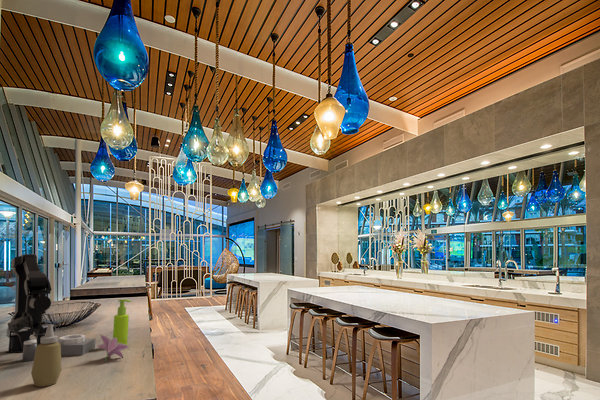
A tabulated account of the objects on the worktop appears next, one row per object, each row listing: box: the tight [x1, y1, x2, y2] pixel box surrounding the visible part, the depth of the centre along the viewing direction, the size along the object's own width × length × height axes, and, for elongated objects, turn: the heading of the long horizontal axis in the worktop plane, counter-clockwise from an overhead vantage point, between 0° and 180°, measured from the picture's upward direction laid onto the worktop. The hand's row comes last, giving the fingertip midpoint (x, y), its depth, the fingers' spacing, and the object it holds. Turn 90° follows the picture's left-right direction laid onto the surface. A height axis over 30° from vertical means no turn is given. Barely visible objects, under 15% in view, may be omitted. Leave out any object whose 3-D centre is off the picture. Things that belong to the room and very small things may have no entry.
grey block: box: [21, 339, 37, 363], centre depth 151 cm, size 5×5×7 cm
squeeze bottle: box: [30, 325, 62, 387], centre depth 125 cm, size 8×8×18 cm
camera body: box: [57, 334, 97, 357], centre depth 163 cm, size 14×12×6 cm
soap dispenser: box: [112, 299, 132, 345], centre depth 174 cm, size 6×7×20 cm
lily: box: [96, 333, 130, 363], centre depth 151 cm, size 12×12×10 cm
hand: (31, 350), depth 151 cm, fingers open, 9 cm apart
